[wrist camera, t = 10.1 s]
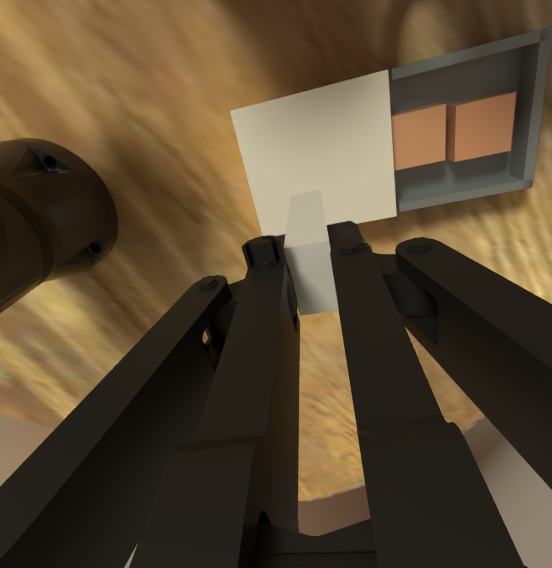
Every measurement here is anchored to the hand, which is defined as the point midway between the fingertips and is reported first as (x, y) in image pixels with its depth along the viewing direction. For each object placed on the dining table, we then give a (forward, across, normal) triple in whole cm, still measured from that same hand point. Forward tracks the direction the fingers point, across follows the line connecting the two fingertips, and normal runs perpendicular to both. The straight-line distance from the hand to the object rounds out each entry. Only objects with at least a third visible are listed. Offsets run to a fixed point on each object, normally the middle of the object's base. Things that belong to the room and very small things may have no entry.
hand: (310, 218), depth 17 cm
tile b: (+16, +15, 0) cm, 22 cm away
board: (+19, +1, 0) cm, 19 cm away
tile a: (+18, +10, 0) cm, 21 cm away
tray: (+19, +14, 0) cm, 23 cm away
